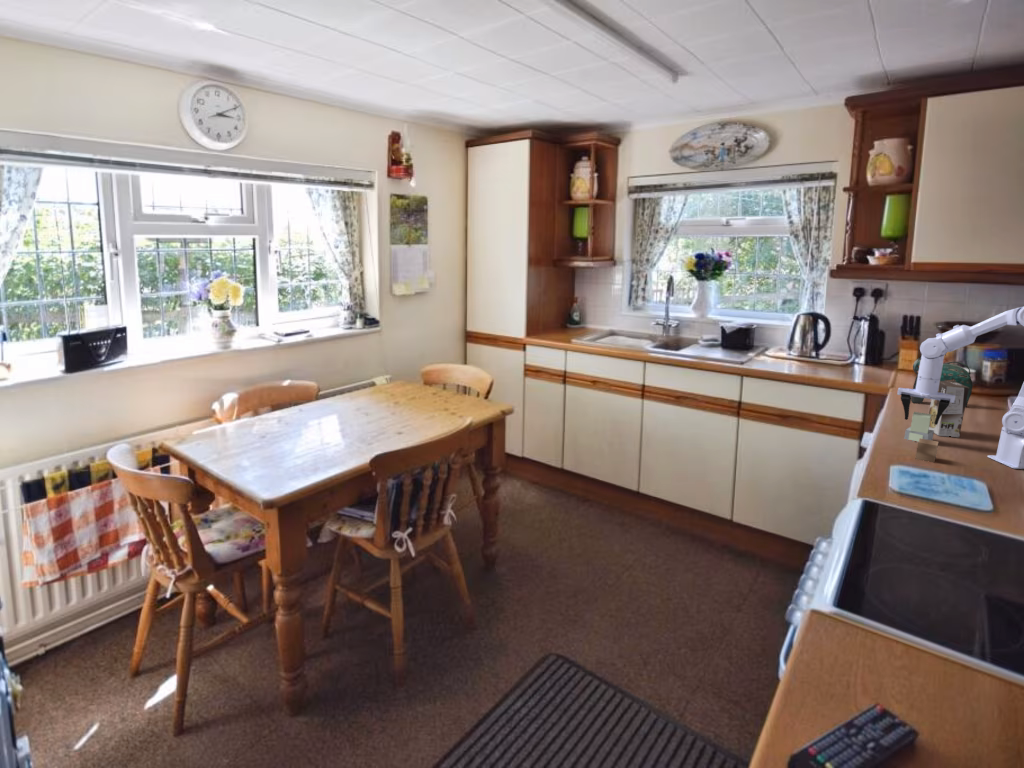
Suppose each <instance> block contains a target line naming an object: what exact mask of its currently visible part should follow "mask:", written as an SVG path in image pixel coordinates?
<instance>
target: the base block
mask: <svg viewBox="0 0 1024 768" xmlns="http://www.w3.org/2000/svg"><path fill="white" fill-rule="evenodd" d="M910 428H911V426H909V427H908V428H906V429H905V432H904V437H903V440H904V439H907V440H906V441H908V440H912V441H911V442H913V441H917V442H918V441H919V439H920V438H921V439H926V440H932V441H933V439H934V438H933V437H934V434H935V433H934V430H928V434H927V433H921V432H915V431H910ZM917 442H916V443H917Z"/></svg>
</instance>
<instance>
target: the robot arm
mask: <svg viewBox="0 0 1024 768" xmlns="http://www.w3.org/2000/svg"><path fill="white" fill-rule="evenodd" d="M1020 325H1021V326H1022V327H1024V306H1020V307H1016V308H1012V309H1008V310H1005V311H1004V312H1001V313H998V314H996V315H994V316H992V317H990V318H987V319H985V320H983V321H980V322H979V323H976V324H974V325H972V326H969V325H966V324H962V325H959V324H956V325H954V326H953V327H952V329H949V330H948V331H945V332H943V333H941V332H940V333H939V332H938V333H936V334H935V336H936V337H928V338H926V339H925V340H924V341H922V342H921V344H920V345H919V350H920V354H921V361H920V366H919V372H918V378H917V383H916V389H913V388H906V387H905V388H904V387H898V389H897V394H896V395H898V396H900V401H901V404H902V406H903V410H904V420H905V421H906V420H908V419H909V413H910V407H911V403H912V401H911V398H912V396H913V397H920V398H924V399H928V400H931V399H934V400H940V401H939V406H938V412H937V416H936V419H935V424H936V425H937V424H938V421H939V418H940V417H941V415H942V413H943V412H944V410H945V409H946V408H947V407H948V405H949V403H950V402H951V403H954V401H955V395H949V394H944V393H939V392H938V389H939V383H940V378H941V372H942V367H943V363H944V358H945V354H946V355H947V353H951V352H954V351H955V350H958V349H961V348H964V347H967V346H968V345H971V344H974V343H975V342H976V341H975V340H976V338H977V337H978V336H981V335H984V334H987V333H989V332H992V331H994V330H996V329H997V330H998V329H999V328H1002V327H1005V326H1020ZM1001 423H1002V427H1001V432H1000V435H999V441H998V445H997V450H996V454H995V455H993V454H991V455H990V454H989V455H987V458H989V459H992V460H994V461H995V462H997V463H1000V464H1002V465H1004V466H1007V467H1009V468H1011V469H1015V470H1016V469H1018V470H1019V469H1021V470H1022V469H1023V470H1024V381H1023V383H1022V385H1021V388H1020V390H1019V392H1018V395H1017V397H1016V399H1015V400H1014V402H1013V404H1012V405H1011V408H1010V409H1009V410H1008V411H1007V412H1005V414H1004V415H1003V416H1002V419H1001Z"/></svg>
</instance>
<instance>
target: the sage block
mask: <svg viewBox="0 0 1024 768" xmlns="http://www.w3.org/2000/svg"><path fill="white" fill-rule="evenodd" d="M930 420H931V414H929V413H925V412H919V411H914V412H913V413H912V417H911V423H910V427H911V428H910V431H915V432H921V433H927V434H928V430H929V425H930Z"/></svg>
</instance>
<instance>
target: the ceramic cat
mask: <svg viewBox="0 0 1024 768" xmlns="http://www.w3.org/2000/svg"><path fill="white" fill-rule="evenodd" d="M921 356H922V355H921ZM921 356H919V357H918V358H917V359H916V360H914V362H913V363H912V364H913V365H912V370H913V372H914V373H915V374H916V377H915V379H914V382H913V387H912V389H916V383H917V378H918V372H919V366H920V361H921ZM946 356H947V353H946V354H945V355H944V357H946ZM952 363H953V364H952ZM957 364H959V365H963V366H965V367H966V369H968V371H967V370H966V369H965V368H963V367H962V366H959V365H957ZM971 373H972V372H971V370H970V367H969V366H968V365H967V364H965V363H963V362H959V361H949V362H943V367H942V372H941V378H940V381H954V382H958V383H960V384H962V385H964V386H967V387H969V391H968V396H967V401H966V406H965V408H967V406H968V404H969V403H968V402H969V400H970V398H971V395H972V393H973V386H974V385H973V380H972V377H971ZM924 400H925V398H920V397H913V396H912V397H911V403H913V404H917V403H918V404H920V405H922V404H923V401H924Z"/></svg>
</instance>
